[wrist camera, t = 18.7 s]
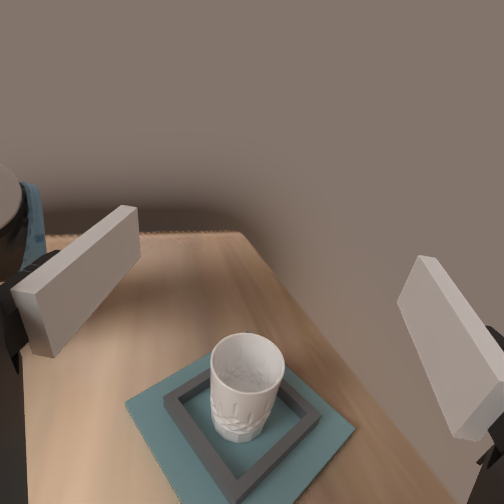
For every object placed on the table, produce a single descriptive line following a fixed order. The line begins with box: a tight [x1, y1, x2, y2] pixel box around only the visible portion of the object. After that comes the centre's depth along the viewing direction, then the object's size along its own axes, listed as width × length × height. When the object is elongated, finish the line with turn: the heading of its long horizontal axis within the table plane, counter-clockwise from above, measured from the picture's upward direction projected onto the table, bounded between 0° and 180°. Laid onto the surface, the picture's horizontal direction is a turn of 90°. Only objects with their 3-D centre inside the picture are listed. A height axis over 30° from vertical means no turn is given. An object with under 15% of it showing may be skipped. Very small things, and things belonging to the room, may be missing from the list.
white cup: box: [210, 333, 285, 443], centre depth 36 cm, size 8×8×10 cm
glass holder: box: [125, 331, 355, 504], centre depth 38 cm, size 20×20×3 cm
